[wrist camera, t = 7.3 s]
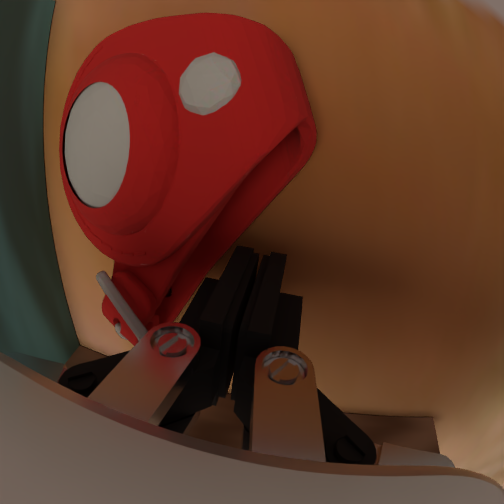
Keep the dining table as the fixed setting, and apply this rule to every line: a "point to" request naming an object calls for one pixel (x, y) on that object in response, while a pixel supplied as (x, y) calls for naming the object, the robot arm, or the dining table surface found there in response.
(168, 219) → the tracker holder
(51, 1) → the frame
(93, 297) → the dining table surface
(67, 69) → the dining table surface
